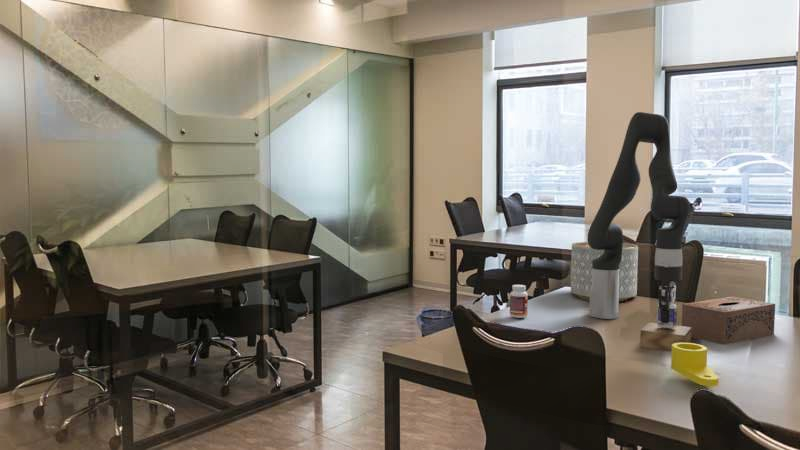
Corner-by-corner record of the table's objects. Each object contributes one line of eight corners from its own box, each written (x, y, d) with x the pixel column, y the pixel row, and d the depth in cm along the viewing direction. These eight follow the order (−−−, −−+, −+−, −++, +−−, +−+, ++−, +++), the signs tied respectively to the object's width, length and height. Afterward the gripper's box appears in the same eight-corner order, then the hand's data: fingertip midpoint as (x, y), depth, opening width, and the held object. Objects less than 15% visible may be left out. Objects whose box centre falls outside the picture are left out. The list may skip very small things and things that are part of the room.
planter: (573, 304, 255) (574, 247, 254) (567, 293, 280) (569, 241, 279) (642, 307, 251) (643, 249, 249) (630, 295, 276) (631, 242, 274)
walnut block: (640, 347, 192) (640, 330, 192) (648, 338, 202) (649, 322, 202) (684, 352, 186) (684, 335, 185) (690, 343, 196) (691, 327, 195)
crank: (666, 364, 175) (667, 342, 174) (698, 364, 175) (699, 342, 174) (693, 386, 157) (694, 361, 157) (729, 386, 157) (730, 361, 156)
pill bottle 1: (528, 318, 231) (529, 287, 230) (510, 318, 231) (511, 287, 230) (526, 314, 237) (526, 284, 236) (508, 314, 237) (509, 284, 236)
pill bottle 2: (678, 328, 190) (679, 298, 190) (658, 327, 191) (659, 297, 191) (674, 324, 196) (675, 295, 195) (655, 323, 197) (656, 294, 196)
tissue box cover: (723, 345, 195) (725, 312, 194) (681, 335, 207) (682, 304, 207) (773, 335, 208) (775, 303, 207) (731, 326, 220) (732, 296, 220)
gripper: (659, 260, 200) (657, 315, 201) (649, 265, 188) (648, 324, 189) (686, 261, 196) (684, 317, 197) (678, 267, 184) (676, 327, 185)
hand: (666, 320), depth 193 cm, fingers closed on pill bottle 2, 5 cm apart
